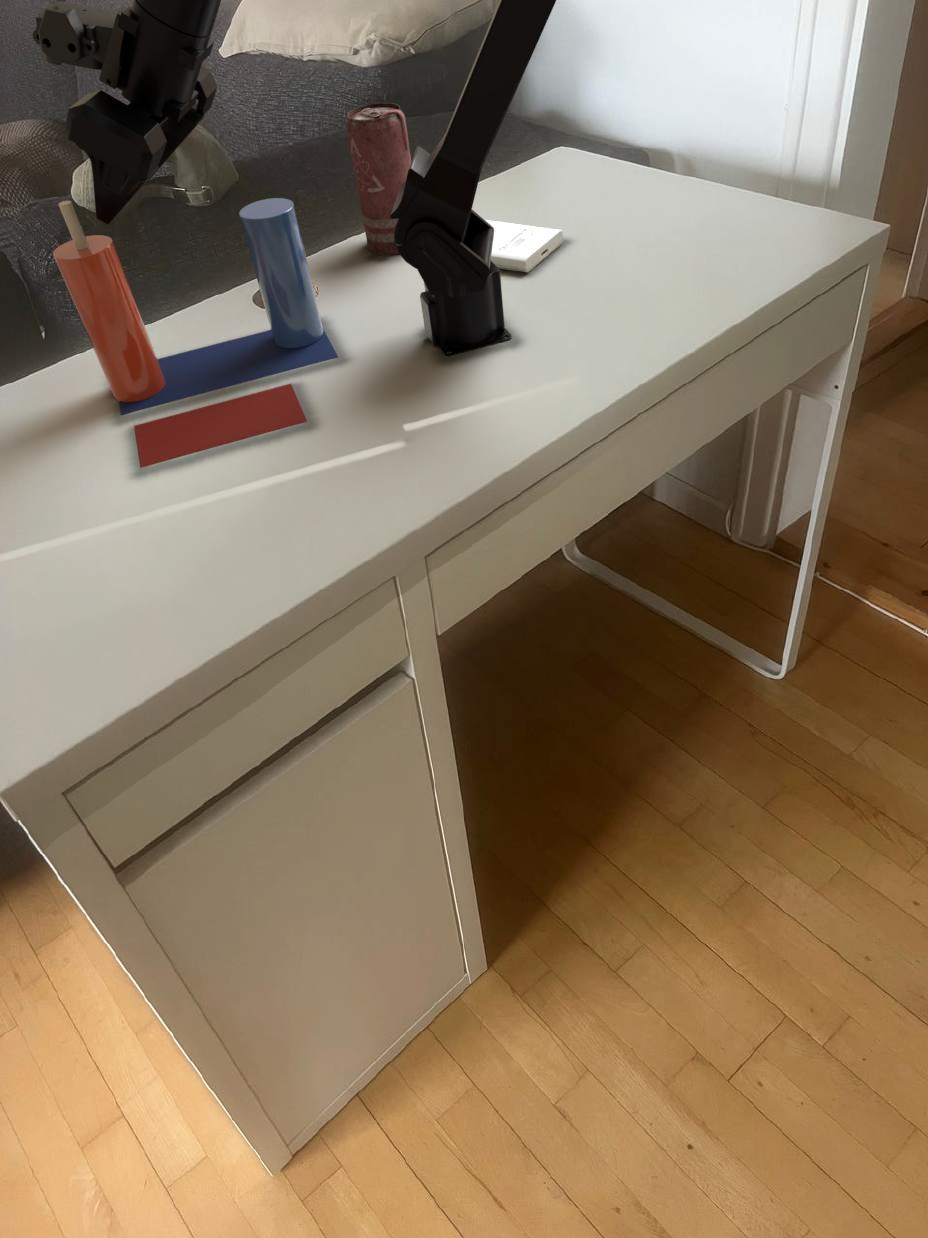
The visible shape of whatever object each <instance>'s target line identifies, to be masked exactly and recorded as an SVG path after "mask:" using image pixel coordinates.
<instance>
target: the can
mask: <svg viewBox="0 0 928 1238" xmlns="http://www.w3.org/2000/svg"><path fill="white" fill-rule="evenodd" d="M346 116H347V118H346V121H345V129H346V134H347V135H346V136H347V140H348V146H349V150H350V157H351V163H352V168H353V174H354V178H355V183H356V189H357V195H358V200H359V205H360V210H361V216H362V222H363V227H364V233H365V238H366V243H367V249H368V251H370V252H371V253H372V254H373V255H377V256H383V257H385V256H387V257H389V256H396V255H397V256H398V255H400V254H399V251H398V249H397V247H396V244H395V243H394V231H395V226H396V223H397V220H398V219H391V217H390V215H391V212H392V209H393V206H394V204H395V201H396V198H397V195H398V192H399V189H400V186H401V185H402V184H403V183H404V182H405V181H406V179H407V174H408V170H409V167H410V164H411V161H412V157H411V149H410V144H409V135H408V129H407V120H406V116H405V113H404V112H403V110H402V109H401V106H400V105H399V104H397V103H394V102H393V103H392V102H376V103H369V104H365V105H362V106H361V105H360V106H359V107H356V108H354V109H351V110H350V111H348V113H347V115H346Z"/></svg>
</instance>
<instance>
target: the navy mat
mask: <svg viewBox="0 0 928 1238" xmlns="http://www.w3.org/2000/svg"><path fill="white" fill-rule="evenodd" d="M338 358H339V355H338V353H337V351H336V349H335V348H334V347H333V344H332V343H331V341H330V339H329V337H328V335H327V333H326V331H325V330H324V328H323V335H322V337H321V338H320V339H319V340H318V341H316V342H315V343H313V344H310V345H308V346H305V347H300V348H282V347H280V346H278V345H276V344H275V342H274V338H273V335H272V331H271V329H269V330H265V331H261V332H257V333H254V334H249V335H245V336H242V337H237V338H234V339H230V340H226V341H223V342H218V343H215V344H211V345H207V346H203V347H200V348H195V349H191V350H188V351H184V352H180V353H176V354H172V355H168V356H165V357H160V358H157V360H158V362H159V365H160V368H161V370H162V373H163V375H164V378H165V381H166V384H165V386H164V388H163V389H162V390H161V391H160V392H159V393H157V394H156V395H154V396H152V397H150V398H147V399H144V400H141V401H136V402H122V401H119V400H118V403H119V404H118V405H119V411H120V416H124V415H127V414H132V413H135V412H139V411H143V410H146V409H150V408H154V407H159V406H161V405H165V404H169V403H173V402H176V401H180V400H184V399H187V398H192V397H195V396H199V395H203V394H206V393H210V392H213V391H217V390H221V389H225V388H229V387H232V386H236V385H240V384H243V383H248V382H251V381H255V380H258V379H263V378H266V377H270V376H273V375H278V374H281V373H285V372H289V371H293V370H297V369H299V368H300V369H301V368H304V367H307V366H312V365H313V364H318V363H323V362H326V361H329V360H333V359H338Z"/></svg>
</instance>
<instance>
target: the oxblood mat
mask: <svg viewBox="0 0 928 1238" xmlns="http://www.w3.org/2000/svg"><path fill="white" fill-rule="evenodd" d="M307 422H308V421H307V418H306V415H305V413H304V411H303V408H302V406H301V403H300V401H299V399H298V397H297V395H296V392H295V389H294V387H293V385H292V383H287V384H284V385H281V386H276V387H273V388H269V389H266V390H262V391H258V392H254V393H251V394H247V395H244V396H240V397H236V398H231V399H229V400H225V401H224V400H223V401H221V402H217V403H214V404H210V405H206V406H202V407H199V408H195V409H192V410H187V411H184V412H181V413H177V414H173V415H169V416H166V417H162V418H158V419H154V420H150V421H147V422H143V423H139V424H135V425H134V427H133V428H134V434H135V440H136V448H137V453H138V460H139V467H140V468H145V467H148V466H152V465H156V464H159V463H163V462H167V461H171V460H175V459H177V458H180V457H185V456H189V455H191V454H196V453H199V452H202V451H206V450H209V449H214V448H217V447H221V446H224V445H228V444H231V443H235V442H238V441H239V442H240V441H242V440H246V439H249V438H252V437H257V436H261V435H263V434H267V433H270V432H275V431H278V430H282V429H286V428H288V427H292V426H297V425H300V424H303V423H307Z"/></svg>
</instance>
